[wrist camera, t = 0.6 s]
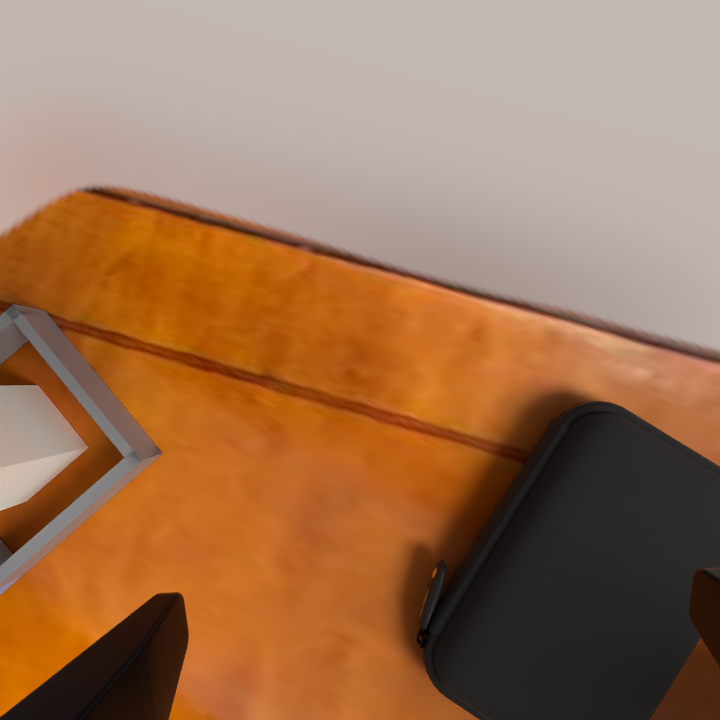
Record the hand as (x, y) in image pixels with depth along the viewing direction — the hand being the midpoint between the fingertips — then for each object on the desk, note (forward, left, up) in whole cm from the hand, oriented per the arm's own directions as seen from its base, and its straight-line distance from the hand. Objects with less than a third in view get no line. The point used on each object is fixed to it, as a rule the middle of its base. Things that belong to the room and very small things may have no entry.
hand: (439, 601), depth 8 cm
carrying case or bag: (-2, -9, -15) cm, 17 cm away
